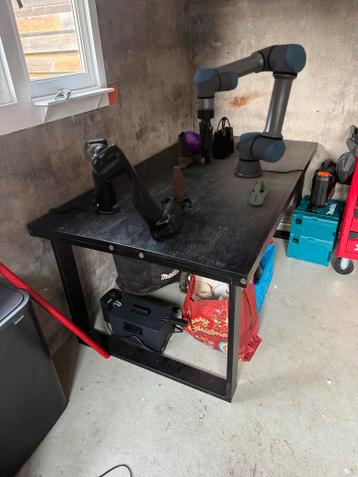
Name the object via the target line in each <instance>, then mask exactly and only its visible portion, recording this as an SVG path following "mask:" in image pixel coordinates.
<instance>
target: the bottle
mask: <svg viewBox="0 0 358 477" xmlns="http://www.w3.org/2000/svg"><path fill="white" fill-rule="evenodd" d="M184 184H185V183H184V174H183V172H182V168H181V166H180V165H175V166H173V174H172V192H173V194H174V200H180V199H181V198H184V195H185V187H184V186H185V185H184ZM185 213H186V208H184V210H183V213H182V215H183V214H185Z"/></svg>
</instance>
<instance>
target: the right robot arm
mask: <svg viewBox="0 0 358 477" xmlns="http://www.w3.org/2000/svg"><path fill="white" fill-rule="evenodd" d="M306 65H307V52H306V49H305V47H304V46H303V45H302V44H299V43H287V44H286V43H284V44H272V45H269V46H266V47H263V48H261V49H258V50H256V51H254V52H252V53H251V54H250V55H248V56H246V57H243V58H240V59H237V60H234V61H231V62H229V63H225V64H223V65H220V66H216V67H205V68H198V69H197V70H196V74H194V77H193V85H194V86H195V88H196V101H195V104H196V108H197V110H196V118H197V120H200V121H199V122H198V128H199V129H198V130H199V134H198V135H199V137H200V144H201V148H200V151H201V153H200V154H201V156H200V157H201V158H200V160H201V159H202V158H205V163H204V165H209V164H212V162H211V161H212V149H213V135H214V126H212V122H211V121H212V120H213V119H214V118H215V109H214V108H215V106H216V102H215V101H216V95H215V94H216V93H222V92H231V91H234V90H236V88H238V86H239V78H242V77H245V76H248V75H251V74H253V73H254V74H260V73H264V72H267V73H268V72H271V73H272V77H273V79H274V81H273V86H272V91H271V95H270V101H269V106H268V110H267V115H266V120H265V126H264V130H263V131H262V132H261V131H251V132H244V133H242V134H240V136H239V141H238V142H239V150H238V162H237V165H236V167H235V169H234V174H235V176H236V177H239V178H243V179H255V178H259V177H261V176H262V175H263V173H273V174H291V173H295V172H301V173H304V174H307V172H306V171H305V170H304V169H292V170H288V171H279V170H277V171H276V170H267V169H266V170H265V169H262V165H261V161H263V162H266V163H269V164H275V163H278V162H279V161H280V160H281V159H282V158H283V156H284V155H285V153H286V148H287V146H286V143H285V141H284V135H283V134H282V131H283V126H284V122H285V118H286V112H287V108H288V106H289V100H290V96H291V90H292V87H293V82H294V81H295V80H296V79H297V78H298V74H299V73H301V72H302V71H303V70H304V69H305V67H306Z"/></svg>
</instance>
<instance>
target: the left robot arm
mask: <svg viewBox="0 0 358 477" xmlns="http://www.w3.org/2000/svg"><path fill="white" fill-rule="evenodd" d="M82 148H83V149H82V150H83V155H84V157H85V159H86V160H87V162H89V163H90V164H91V167H92V170H91V177H92V183H93V187H94V192H93V197H94V198H93V200H91V202H89V203H86V204H84V206H83V207H80V206H77V205H74V206H71V207H69V208H67V209H65V210H59V209H56V208H55V207H50V208H49V211H52V210H53V211H55V212H57V213H60V214H61V213H62V214H63V213H67V212H69V211H70V210H73V209H78V210H80V211H83V210H85V209H86V208H87V207H88V206H89V205H92V207H95V208H96V212H97V213H99V214H101V215H102V214H103V215H109V214H114V213H116V212H118V211H119V209H120V208H119V203H118V197H117V192H116V185H115V184H116V183H115V180H116V179H118V178H119V177H120V176H122V175H124V173H126V175H127V177H128V179H129V182H130V188H131V199H132V204H133V207H134V209H135V212H137V213H138V215H139V216H140V217H141V219H142V220H143V221H144V222H145V224H146V226H147V229H148V231H149V234H150V236H151V240H153V241H154V242H155V243H157V244H162V243H166V242H167V241H170V240H173V239H175V238H177V236H179V235H180V227H179V222H180V220H181V218H182V217H183V214H184V213H183V210H184V208H185V209H186V208H189V209H192V208H193V202H192V198H191V197H189V196H188V194H187V193H184V198H181V199H180V200H174V193H173V194H171V196H169V197H168V196H166V197H165V198H164V199H162V200H161V201H160V207H161V208H164V209H163V211H162V209H161V208H160V207H159V205H158V204H157V203H156V201H155V200H154V199H153V197H152V196H151V195H150V193H149V191H148V189H147V187H146V186H145V184H144V182H143V181H142V179H141V177H140V175H139V174H138V172H137V171H136V169H135V167H134V165H133V164H132V162H131V160H130V159H129V157H128V156H127V154H126V153H125V152H124V151H123V149H121V147H120V146H118V145H117V144H115V143H112V144H109V141H108V140H107V139H106V138H104V137H103V138H93V139H87V140H85V141H84V143H83V147H82ZM51 208H52V209H51ZM182 213H183V214H182ZM158 222H159V223H158Z"/></svg>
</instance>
